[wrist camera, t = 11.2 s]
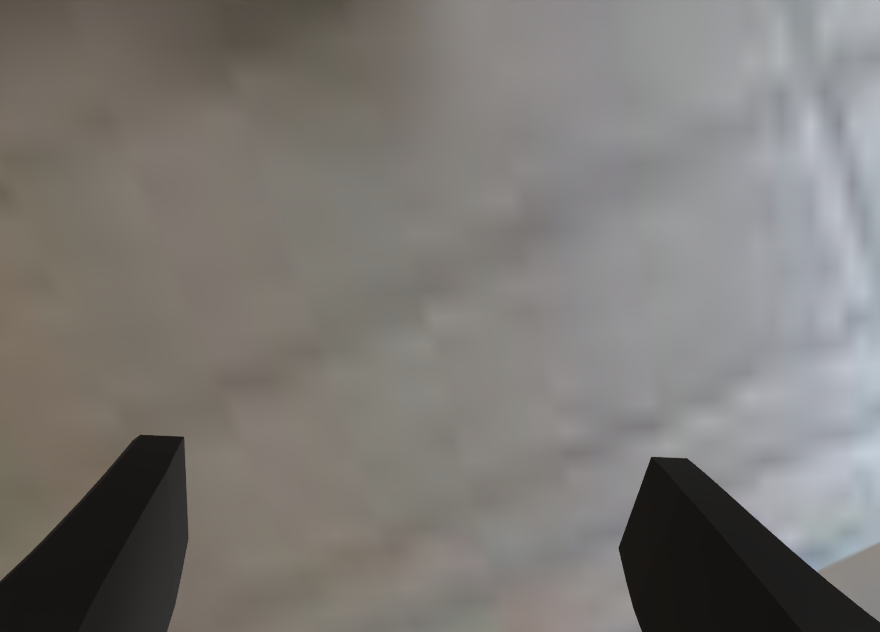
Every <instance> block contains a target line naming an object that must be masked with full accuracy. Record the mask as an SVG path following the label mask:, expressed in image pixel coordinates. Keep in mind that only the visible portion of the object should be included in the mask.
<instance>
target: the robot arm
mask: <svg viewBox="0 0 880 632" xmlns="http://www.w3.org/2000/svg"><path fill="white" fill-rule="evenodd" d="M187 543H188V517H187V494H186V471H185V448H184V437H177V436H154V435H140V436H138V437H137V438H136V439H134V440H133V441H132V442H131V443H130V444H129V446H128V447H127V448H126V449H125V450H124V452H123V453H122V454H121V455H120V456H119V458H118V459H117V460H116V461H115V462H114V463H113V465H112V466H111V467H110V468H109V469H108V470H107V472H106V473H105V474H104V475H103V476H102V477H101V478H100V480H99V481H98V482H97V483H96V484H95V485H94V486H93V487H92V489H91V490H90V491H89V492H88V493H87V494H86V495H85V496H84V497H83V498H82V500H81V501H80V502H79V503H78V504H77V505H76V506H75V507H74V508H73V509H72V510H71V511H70V512H69V513H68V514H67V516H66V517H65V518H64V519H63V520H62V521H61V522H60V523H59V524H58V525H57V526H56V527H55V528H54V529H53V530H52V531H51V532H50V533H49V534H48V535H47V536H46V537H45V539H44V540H43V541H42V542H41V543H40V544H39V545H38V546H37V547H36V548H35V549H34V550H33V551H32V552H31V553H30V554H29V555H27V556H26V557H25V558H24V559H23V560H22V561H21V562H20V563H19V564H18V565H17V566H16V567H15V568H14V569H13V570H12V571H11V572H10V573H9V574H7V575H6V576H5V577H4V578H3V579H2V580H1V581H0V632H167V629H168V626H169V623H170V620H171V616H172V613H173V610H174V607H175V603H176V598H177V593H178V588H179V584H180V579H181V574H182V569H183V564H184V558H185V553H186V548H187ZM619 552H620V556H621V561H622V565H623V569H624V574H625V578H626V582H627V586H628V590H629V593H630V597H631V601H632V605H633V608H634V611H635V614H636V617H637V619H638V622H639V625H640V627H641V630H642V632H880V622H879V621H877V620H876V619H875V618H873V617H872V616H871V615H869V614H868V613H867V612H866V611H864V610H863V609H862V608H861V607H859V606H858V605H857V604H856V603H854V602H853V601H852V600H851V599H849V598H848V597H847V596H845V595H844V594H843V593H842V592H841V591H839V590H838V589H837V588H836V587H834V586H833V585H832V584H831V583H829V582H828V581H827V580H826V579H825V578H823V577H822V576H821V575H820V574H819V573H817V572H816V571H815V570H814V569H813V568H811V567H810V566H809V565H808V564H807V563H806V562H804V561H803V560H802V559H801V558H800V557H799V556H797V555H796V554H795V553H794V552H793V551H792V550H790V549H789V548H788V547H787V546H786V545H785V544H784V543H783V542H781V541H780V540H779V539H778V538H777V537H776V536H775V535H773V534H772V533H771V532H770V531H769V530H768V529H767V528H766V527H764V526H763V525H762V524H761V523H760V522H759V521H758V520H757V519H756V518H754V517H753V516H752V515H751V514H750V513H749V512H748V511H747V510H746V509H744V508H743V507H742V506H741V505H740V504H739V503H738V502H737V501H736V500H734V499H733V498H732V497H731V496H730V495H729V494H728V493H727V492H726V491H724V490H723V489H722V488H721V487H720V486H719V485H718V484H717V483H715V482H714V481H713V480H712V479H711V478H710V477H709V476H708V475H706V474H705V473H704V472H703V471H702V470H701V469H699V468H698V467H697V466H696V465H694V464H693V463H692V462H691V461H690V460H688V459H687V458H664V457H651V459H650V462H649V465H648V468H647V470H646V473H645V476H644V479H643V482H642V484H641V487H640V490H639V493H638V495H637V498H636V501H635V504H634V507H633V509H632V512H631V515H630V518H629V520H628V523H627V526H626V529H625V532H624V534H623V537H622V540H621V543H620V545H619Z"/></svg>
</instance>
